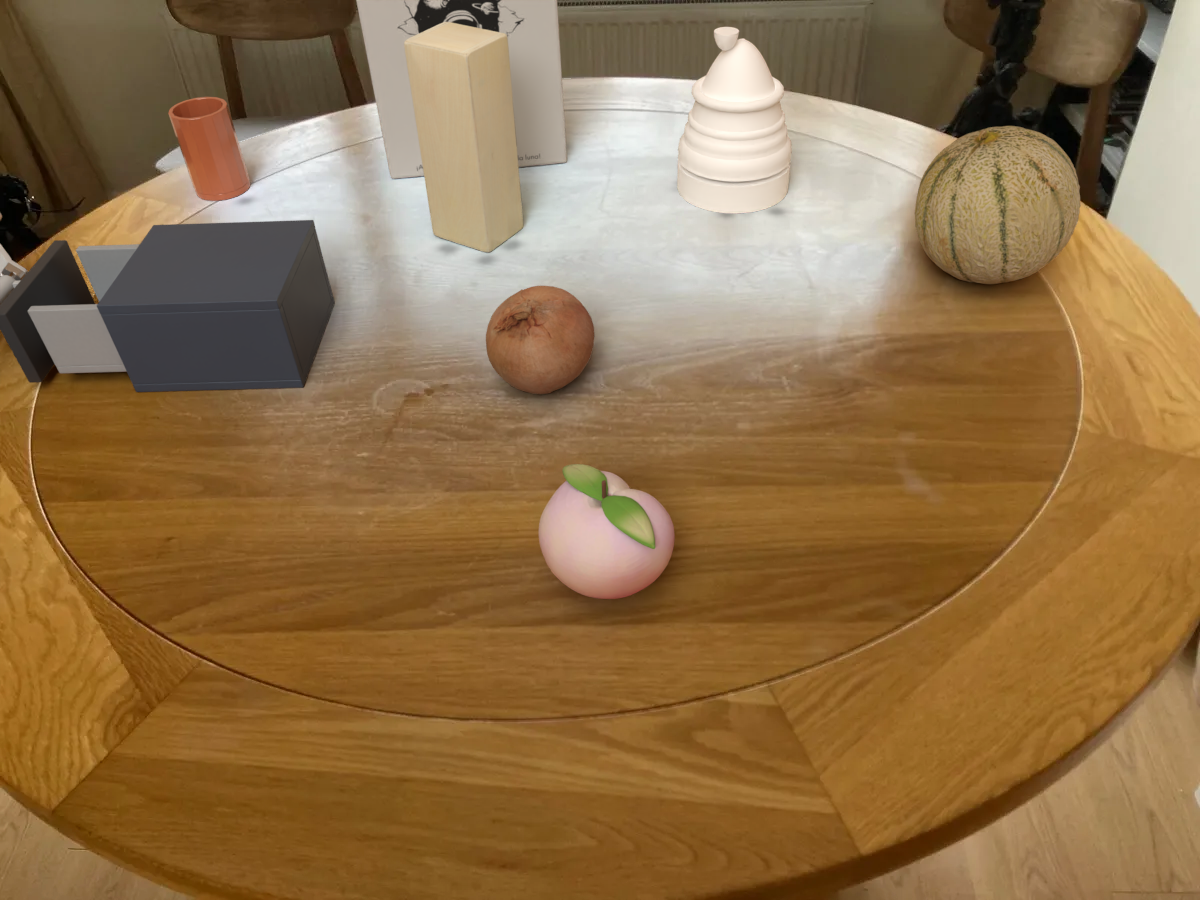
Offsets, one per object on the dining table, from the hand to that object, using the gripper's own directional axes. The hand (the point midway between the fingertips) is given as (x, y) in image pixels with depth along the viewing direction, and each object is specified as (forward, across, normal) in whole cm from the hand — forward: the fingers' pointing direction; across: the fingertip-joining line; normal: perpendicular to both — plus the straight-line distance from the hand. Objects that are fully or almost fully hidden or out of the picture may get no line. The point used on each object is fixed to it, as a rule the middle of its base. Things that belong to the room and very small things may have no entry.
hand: (0, 307), depth 89 cm
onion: (+39, -6, -32) cm, 51 cm away
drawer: (+9, 0, -3) cm, 9 cm away
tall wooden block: (+33, +21, -26) cm, 47 cm away
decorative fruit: (+43, -30, -36) cm, 64 cm away
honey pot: (+53, +30, -46) cm, 77 cm away
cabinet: (+18, 0, -11) cm, 22 cm away
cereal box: (+32, +39, -24) cm, 56 cm away
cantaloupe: (+69, +10, -63) cm, 94 cm away
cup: (+10, +33, -3) cm, 35 cm away
